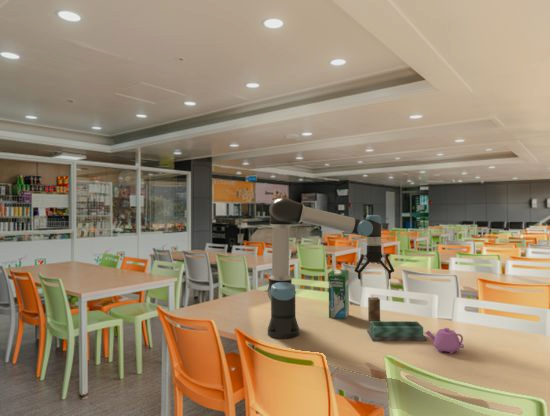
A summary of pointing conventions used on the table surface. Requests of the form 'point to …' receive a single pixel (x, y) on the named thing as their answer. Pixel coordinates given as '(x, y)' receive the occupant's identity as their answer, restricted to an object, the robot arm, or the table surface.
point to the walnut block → (373, 309)
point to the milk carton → (339, 294)
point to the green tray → (396, 331)
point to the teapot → (446, 340)
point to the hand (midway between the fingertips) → (374, 285)
